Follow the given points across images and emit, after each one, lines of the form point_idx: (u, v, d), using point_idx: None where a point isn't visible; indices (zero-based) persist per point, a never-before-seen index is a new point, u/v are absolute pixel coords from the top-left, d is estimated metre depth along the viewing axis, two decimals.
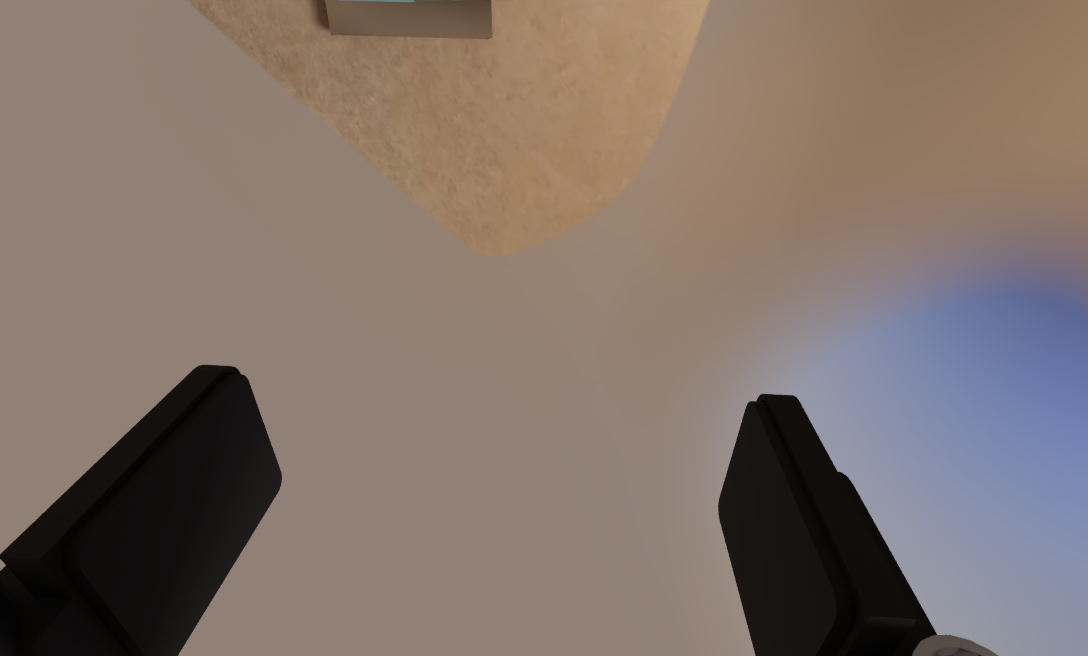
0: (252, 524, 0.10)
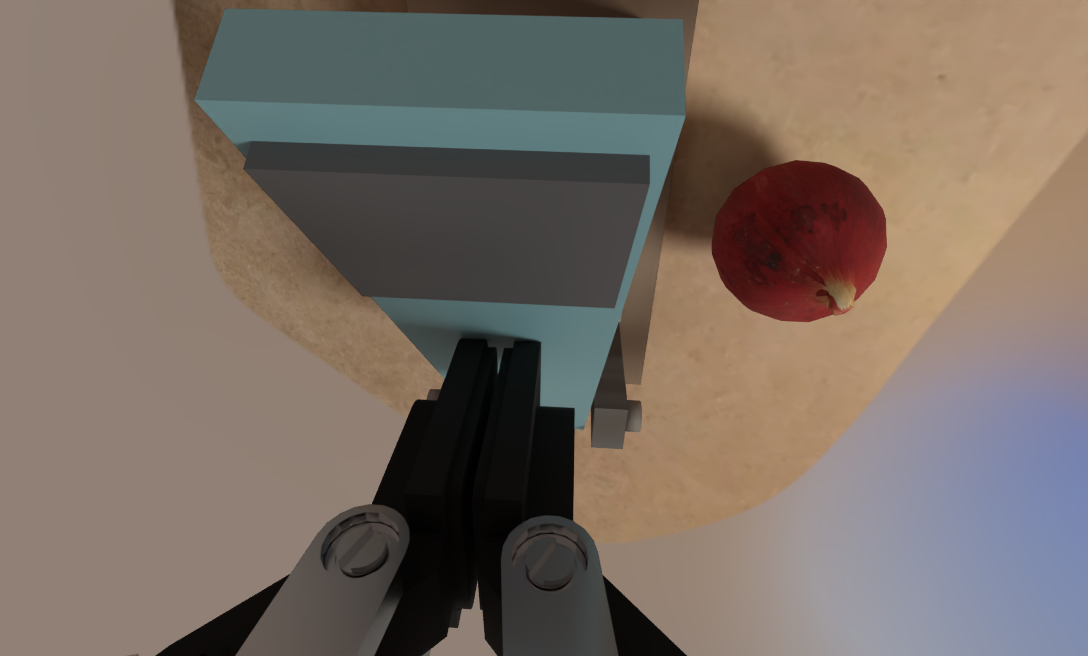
0: None
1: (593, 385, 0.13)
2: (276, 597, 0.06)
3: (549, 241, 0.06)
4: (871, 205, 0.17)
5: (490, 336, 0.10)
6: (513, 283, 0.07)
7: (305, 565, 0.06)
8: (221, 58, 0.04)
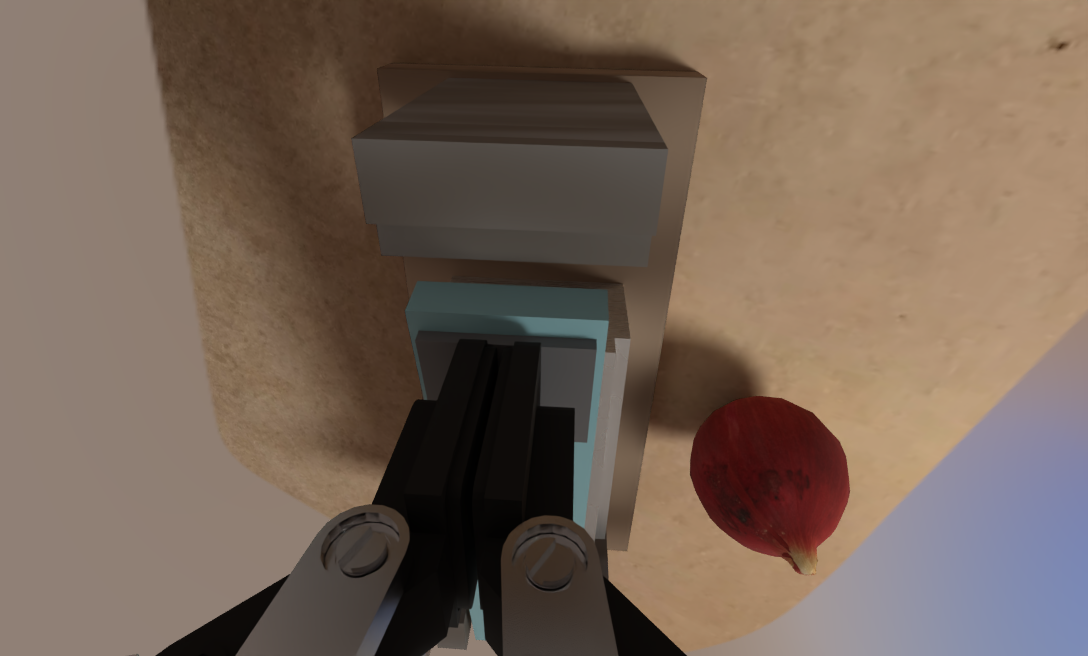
0: None
1: None
2: (276, 597, 0.06)
3: (550, 385, 0.11)
4: (833, 466, 0.19)
5: None
6: None
7: (305, 565, 0.06)
8: (416, 297, 0.11)
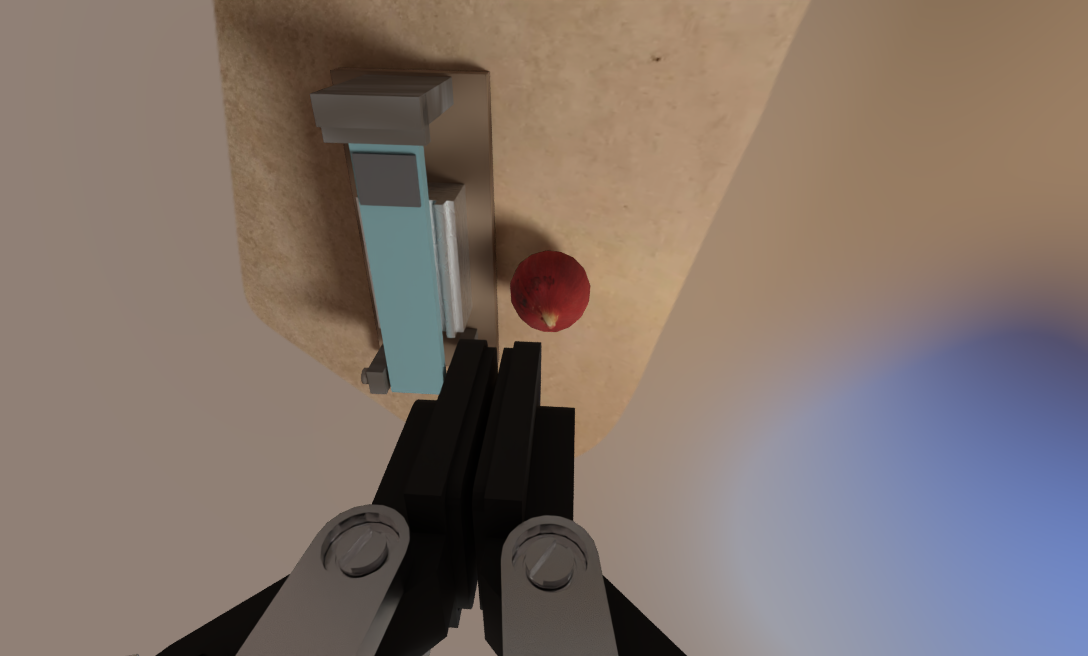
0: None
1: (432, 298, 0.35)
2: (276, 597, 0.06)
3: (401, 175, 0.30)
4: (570, 276, 0.36)
5: (392, 244, 0.33)
6: (395, 194, 0.31)
7: (305, 565, 0.06)
8: None
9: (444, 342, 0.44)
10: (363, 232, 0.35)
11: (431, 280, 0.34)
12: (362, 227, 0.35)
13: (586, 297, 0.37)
